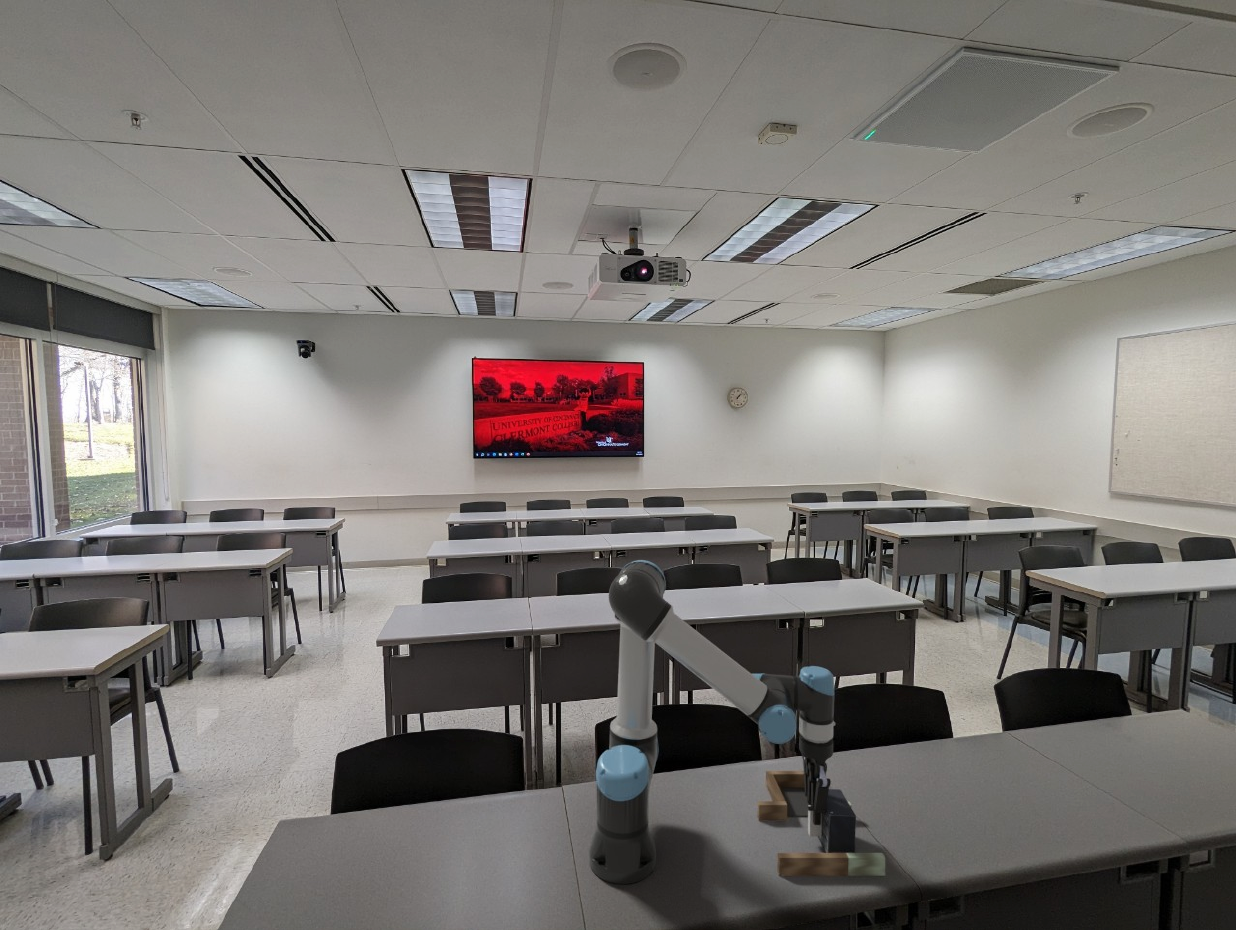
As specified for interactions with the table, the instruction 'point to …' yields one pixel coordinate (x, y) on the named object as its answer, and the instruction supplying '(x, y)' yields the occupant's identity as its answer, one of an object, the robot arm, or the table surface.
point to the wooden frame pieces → (812, 861)
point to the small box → (838, 824)
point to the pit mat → (795, 801)
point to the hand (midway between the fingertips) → (814, 834)
